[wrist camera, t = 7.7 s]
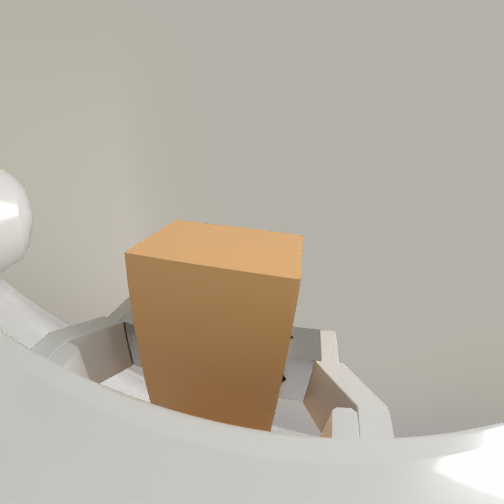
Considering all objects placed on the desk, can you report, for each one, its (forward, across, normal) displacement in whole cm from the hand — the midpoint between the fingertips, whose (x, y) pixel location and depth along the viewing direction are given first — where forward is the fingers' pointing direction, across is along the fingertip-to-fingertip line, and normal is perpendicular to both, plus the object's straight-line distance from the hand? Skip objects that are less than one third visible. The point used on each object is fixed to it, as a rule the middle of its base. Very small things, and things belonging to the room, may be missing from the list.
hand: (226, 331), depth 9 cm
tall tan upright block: (-1, 0, +18) cm, 19 cm away
